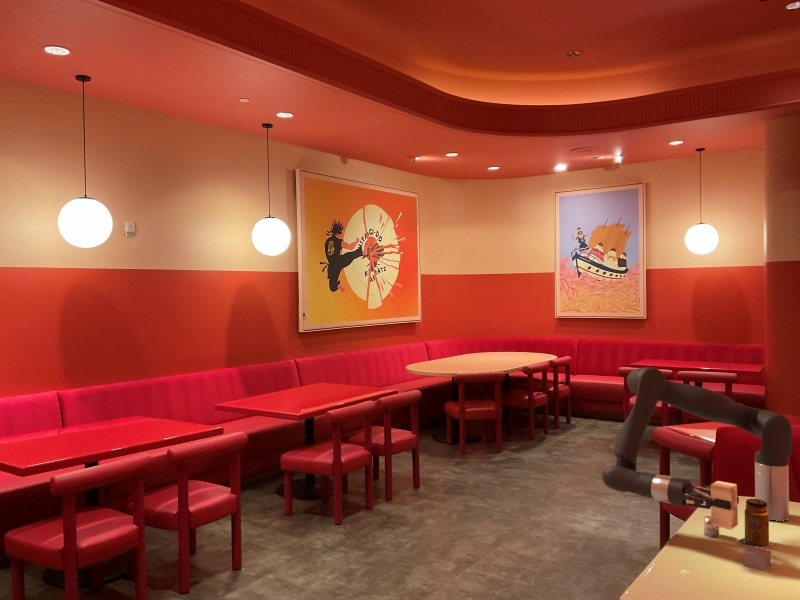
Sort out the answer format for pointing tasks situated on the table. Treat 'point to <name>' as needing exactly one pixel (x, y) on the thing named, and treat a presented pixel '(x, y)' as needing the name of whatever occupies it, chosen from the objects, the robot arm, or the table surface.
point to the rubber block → (757, 558)
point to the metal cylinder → (710, 528)
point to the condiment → (756, 525)
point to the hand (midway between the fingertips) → (734, 503)
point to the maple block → (724, 516)
